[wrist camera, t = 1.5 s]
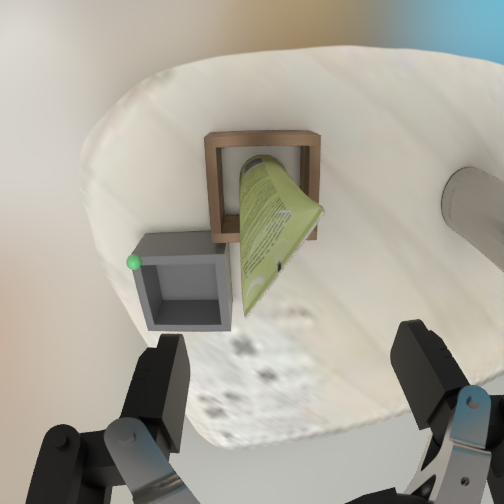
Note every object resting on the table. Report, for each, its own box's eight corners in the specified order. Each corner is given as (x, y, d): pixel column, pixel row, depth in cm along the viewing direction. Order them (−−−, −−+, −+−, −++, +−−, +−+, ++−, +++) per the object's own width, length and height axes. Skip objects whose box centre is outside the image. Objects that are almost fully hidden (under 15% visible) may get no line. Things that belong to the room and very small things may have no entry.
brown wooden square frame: (309, 130, 31) (320, 135, 26) (307, 221, 35) (316, 239, 31) (210, 132, 31) (204, 137, 26) (216, 224, 35) (212, 243, 31)
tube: (289, 199, 34) (332, 305, 17) (244, 207, 35) (243, 320, 17) (281, 150, 32) (326, 210, 14) (234, 158, 32) (220, 229, 15)
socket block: (227, 227, 36) (223, 256, 29) (232, 300, 40) (230, 337, 34) (142, 231, 36) (122, 259, 29) (157, 301, 40) (144, 336, 34)
